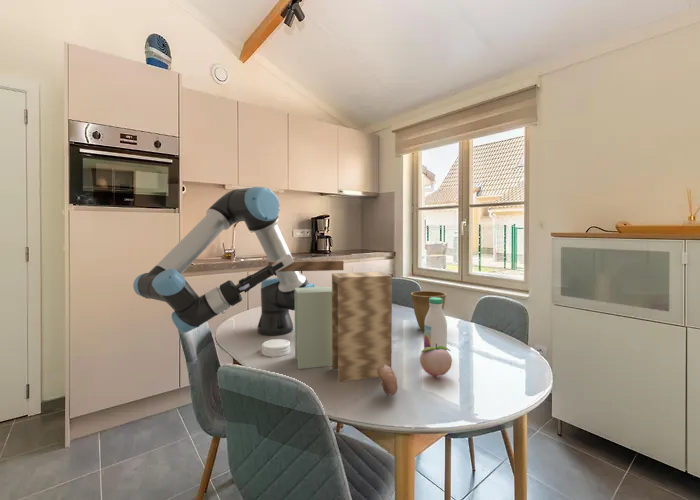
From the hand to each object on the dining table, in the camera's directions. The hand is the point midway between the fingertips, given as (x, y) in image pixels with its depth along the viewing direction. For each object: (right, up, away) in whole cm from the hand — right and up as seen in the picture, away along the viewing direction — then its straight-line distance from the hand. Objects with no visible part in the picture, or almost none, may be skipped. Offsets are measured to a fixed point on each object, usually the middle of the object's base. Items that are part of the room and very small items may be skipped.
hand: (291, 257), depth 110 cm
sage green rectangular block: (+7, -34, +4) cm, 35 cm away
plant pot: (+53, -33, +41) cm, 75 cm away
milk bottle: (+49, -34, +10) cm, 60 cm away
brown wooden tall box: (+22, -35, -5) cm, 42 cm away
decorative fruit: (+44, -35, -9) cm, 57 cm away
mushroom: (+29, -36, -20) cm, 50 cm away
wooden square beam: (+5, -4, +1) cm, 6 cm away
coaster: (-8, -34, +13) cm, 38 cm away
